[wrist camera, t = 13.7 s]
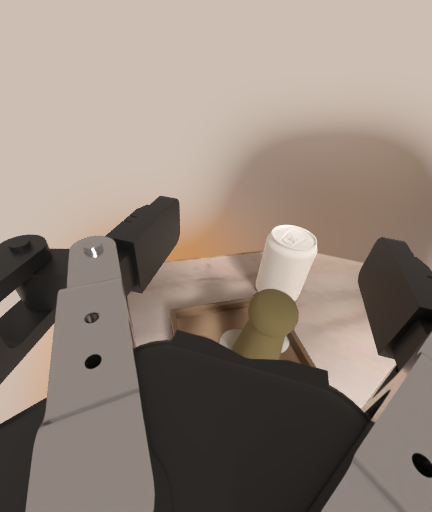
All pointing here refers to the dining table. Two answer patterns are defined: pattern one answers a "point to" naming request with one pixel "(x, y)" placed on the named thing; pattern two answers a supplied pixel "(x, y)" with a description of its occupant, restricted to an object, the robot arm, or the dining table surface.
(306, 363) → the wooden tray
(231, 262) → the dining table surface
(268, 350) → the olive pawn figure
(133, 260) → the robot arm
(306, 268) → the beverage can
